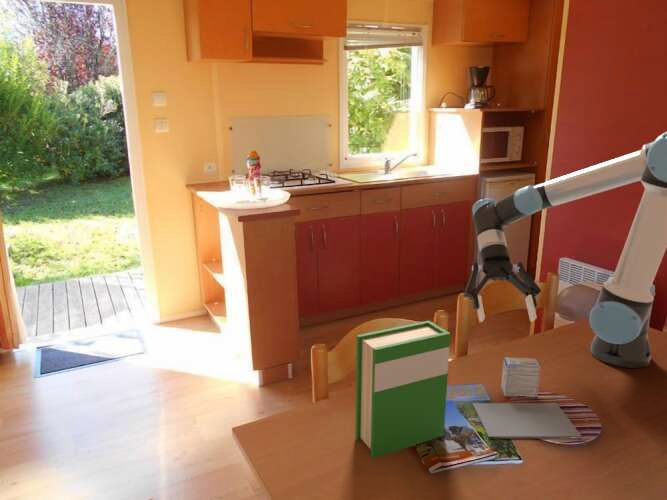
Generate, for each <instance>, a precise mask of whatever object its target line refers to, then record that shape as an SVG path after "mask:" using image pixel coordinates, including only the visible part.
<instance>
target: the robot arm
mask: <svg viewBox="0 0 667 500" xmlns="http://www.w3.org/2000/svg"><path fill="white" fill-rule="evenodd" d="M637 182H640V183H641V184H642V186H643V187H644V191H643V194H642V197H641V199H640V202H639V205H638V207H637V211H636V212H635V215H634V218H633V221H632V224H631V227H630V228H629V229H630V230H629V232H628V235H627V238H626V240H625V244H624V247H623V249H622V252H621V253H620V257H619V259H618V263H617V265H616V267H615V271H614V274H613V275H612V276H610V277H609V278H607V280H606V281H604V282H603V284H602V287H601V289H600V293H599V296H598V297H597V300H596V303H595V305H594V306H593V307H592V309H591V310H590V312H589V319H588V320H589V325H590V327H591V330H592V332H593V333H594V334H595V336H594V338H593V339H592V340H591V345H590V349H589V350H590V353H591V355H593V357H594V358H596V359H598V360H600V361H601V362H604V363H606V364H609V365H612V366H615V367H616V366H617V367H620V368H621V367H622V368H627V369H628V368H629V369H641V368H644V367H647V366H649V365H650V364H651V358H652V352H651V348H650V343H649V338H648V331H649V327H650V322H651V321H650V320H651V315H652V309H653V303H654V300H655V299H654V298H655V296H656V292H655V291H656V286H655V285H654V284H653V282H654V280H655V278H656V275H657V272H658V270H659V268H660V264H661V263H662V261H663V257H664V255H665V252H666V251H667V131H665V132H663V133H662V134H660V135H658V136H657V138H655V139H654V140H653V141H651V142H648V143H645V144H643V145H642V148H641V149H639V150H636V151H634V152H629V153H628V154H624V155H622V156H621V155H620V156H618V157H615V158H613V159H610V160H606V161H604V162H601V163H598V164H595V165H591V166H589V167H586V168H582V169H580V170H577V171H574V172H571V173H568V174H565V175H561V176H559V177H557V178H553V179H550V180H546V181H545V182H541V183H538V184H534V185H527V186H523V187H521V188H519V189H517V190H516V191H514V192H512V193H510V194H509V195H506V196H504V197H502V198H500V199H499V200H496V199H494V198H490V197H487V198H484V199H479V200H477V201H476V202H474V203H473V205H472V209H471V210H472V221H473V224H474V227H475V232H476V238H477V243H478V244H477V245H478V250H479V255H480V260H481V264H478V263H477V262H474V263H473V264H472V266H471V274H470V277H469V279H468V283H467V285H466V288H465V290H464V293H463V296H464V297H465V298H469V299H470V300H471V302H472V306H473V310H476V311H477V312H476V313H477V317H478V322H479V323H483V322H484V320H485V319H486V315H485V312H484V311H485V310H484V306H483V298H482V296H481V294H479V293H480V292H481V291H482V290H483V288H484V287H485V285H486V284H487V282H488V281H489V280H492V281H495V282H496V281H507V282H508V283H510V284H511V285H513V286H514V287H515V288H517V290H519V292H521V293H522V294H523V295H524V296H525V304H526V305H525V306H526V309H527V314H528V317H529V321H530V322H534V321H535V320H536V319H537V317H538V316H537V313H536V312H537V311H536V308H537V306H538V304H537V299H536V297H538V296H539V295H540V293H541V292H542V289H541V288H540V287H539V286H538V284H537V283H536V281H534V279H533V278H532V276H530V274H529V273H528V271H527V270H525V267H524V264H523V262H521V261H520V262H518V263H516V264H513V263H512V262H511V258H510V255H509V249H508V244H507V240H506V236H505V231H504V228H505V227H506V226H509V225H511V224H513V223H516V222H517V221H520V220H521V219H524V218H527V217H528V216H532V215H533V214H536V213H537V212H539V211H543V210H546V209H550V208H552V207H555V206H559V205H562V204H566V203H569V202H572V201H576V200H579V199H583V198H586V197H590V196H592V195H596V194H600V193H604V192H606V191H610V190H612V189H615V188H618V187H623V186H626V185H629V184H632V183H637ZM481 271H482V272H483V273H484V274H485V276H484V277H483V278H482V280H481V281H480V283H479V284H478V285H477V287H476V288H475V289H474V290H472V289H473V287H474V284H475V281H476V278H477V276H478V273H480V272H481ZM516 274H517V275H518V276H517V275H516Z"/></svg>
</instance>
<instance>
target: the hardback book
mask: <svg viewBox="0 0 667 500" xmlns="http://www.w3.org/2000/svg"><path fill="white" fill-rule="evenodd" d="M450 343H451V332H449V331H448V330H446V329H444V328H442V327H440V326H439V325H437V324H436V323H433V322H432V321H430V320H425V321H424V320H423V321H420V322H416V323H411V324H406V325H401V326H396V327H391V328H386V329H381V330H377V331H376V330H375V331H371V332H366V333H362V334H357V335H356V363H355V364H356V366H355V367H356V368H355V369H356V371H355V374H356V376H355V380H356V381H355V383H356V384H355V434H354V435H355V440H356V441H357V442H359V441H362V442H363V443H364V444H365V445H366V446H367V447H368V448H369V450H370V454H369V455H370V458H371V459H373V460H374V459H376V458H380V457H382V456H386V455H388V454H389V455H390V454H394V453H395V452H398V451H401V450H405V449H408V448H411V447H415V446H417V445H420V444H419V443H421V444H423V443H422V442H424V443H426V441H427V442H429V441H428V440H430V441H433V440H436V439H438V438H437V437H439V436H442V435H444V436H445V422H446V421H445V420H446V404H447V391H448V376H449V375H448V374H449V357H450V345H451V344H450ZM442 437H443V436H442ZM435 438H436V439H435ZM439 438H440V437H439ZM432 439H433V440H432ZM416 444H417V445H416Z"/></svg>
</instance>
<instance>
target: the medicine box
mask: <svg viewBox="0 0 667 500" xmlns="http://www.w3.org/2000/svg"><path fill="white" fill-rule="evenodd" d="M541 368H542V367H541V366H540V364H539V362H538V361H537V358H530V357H529V358H528V357H509V356H508V357H506V356H505V357H504V358H503V362H502V373H501V383H500V384H501V386H500V387H501V389H502V390H501V391H502V393H503V395H504V397H513V398H515V397H516V398H517V396H526V397H525V398H535V397H537V398H538V394H539V384H540V376H541Z"/></svg>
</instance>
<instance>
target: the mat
mask: <svg viewBox="0 0 667 500" xmlns="http://www.w3.org/2000/svg"><path fill="white" fill-rule="evenodd" d="M473 406H474V407H473ZM472 407H473V409H474V408H475V409H474V411H475V414H476V416H477V415H478V416H477V417H479V418H478V419H480V420H479V421H481V422H480V424H481V423H482V424H481V426H482V425H483V426H482V428H483V427H484V428H483V430H484V429H485V430H484V432H485V431H486V432H485V434H486V433H487V434H486V436H487V435H488V436H487V438H488V437H496V438H495V439H498V438H497V437H500V438H499V439H572V438H571V437H583V436H582V435H581V433H580V432H579V431H578V429H577V428H576V427H575V425H574V424H573V423H572V422H571V420H570V419H569V417H568V416H567V414H566V413H564V411H563V410H562V409H561V407H560V406H559V405H558V404H557V402H544V403H543V402H530V403H529V402H526V403H525V402H500V403H499V402H496V403H495V402H494V403H493V402H487V403H486V402H485V403H484V402H483V403H482V402H473V403H472ZM565 437H566V438H565Z"/></svg>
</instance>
